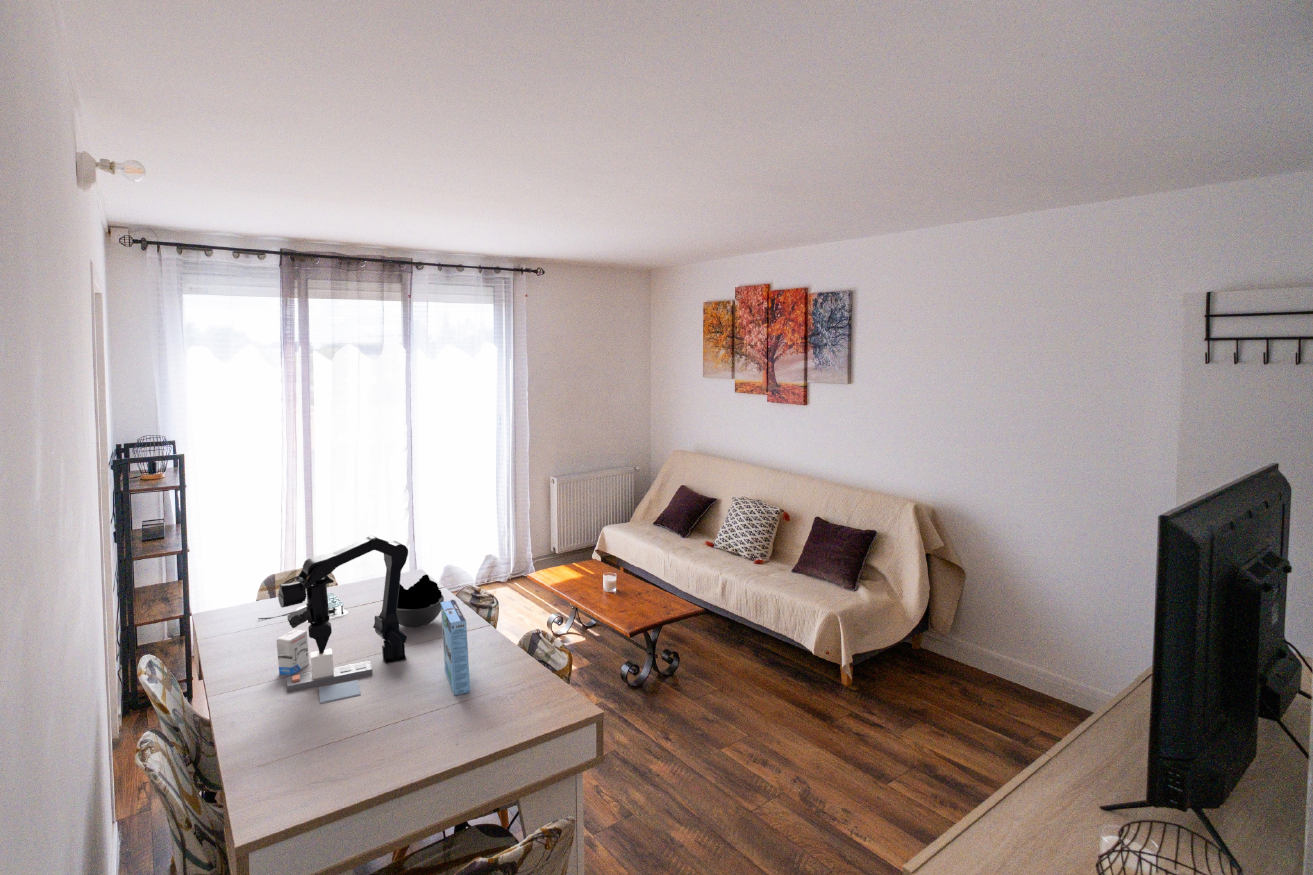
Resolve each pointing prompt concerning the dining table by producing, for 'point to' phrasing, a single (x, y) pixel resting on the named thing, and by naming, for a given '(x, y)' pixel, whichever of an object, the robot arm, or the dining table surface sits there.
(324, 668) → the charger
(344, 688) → the mat
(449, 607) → the light blue carton
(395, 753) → the dining table surface
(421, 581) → the coal bowl
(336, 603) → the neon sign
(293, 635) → the ink box
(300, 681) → the power strip
